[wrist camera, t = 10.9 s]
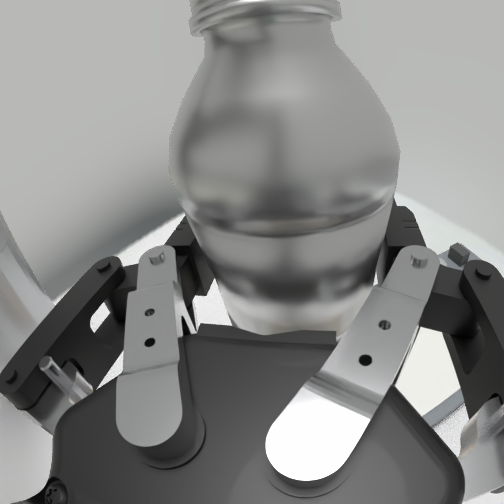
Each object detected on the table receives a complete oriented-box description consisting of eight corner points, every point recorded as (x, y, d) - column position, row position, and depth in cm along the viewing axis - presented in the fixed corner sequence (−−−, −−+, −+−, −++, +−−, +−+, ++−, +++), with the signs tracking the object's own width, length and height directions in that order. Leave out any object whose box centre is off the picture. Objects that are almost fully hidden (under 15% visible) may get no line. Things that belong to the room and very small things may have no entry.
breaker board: (261, 512, 15) (255, 509, 13) (206, 359, 26) (198, 341, 24) (540, 325, 20) (551, 307, 18) (458, 251, 31) (463, 233, 29)
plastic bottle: (312, 476, 13) (273, -118, 2) (225, 408, 17) (91, 11, 6) (379, 393, 16) (423, -25, 5) (294, 344, 21) (252, -3, 9)
